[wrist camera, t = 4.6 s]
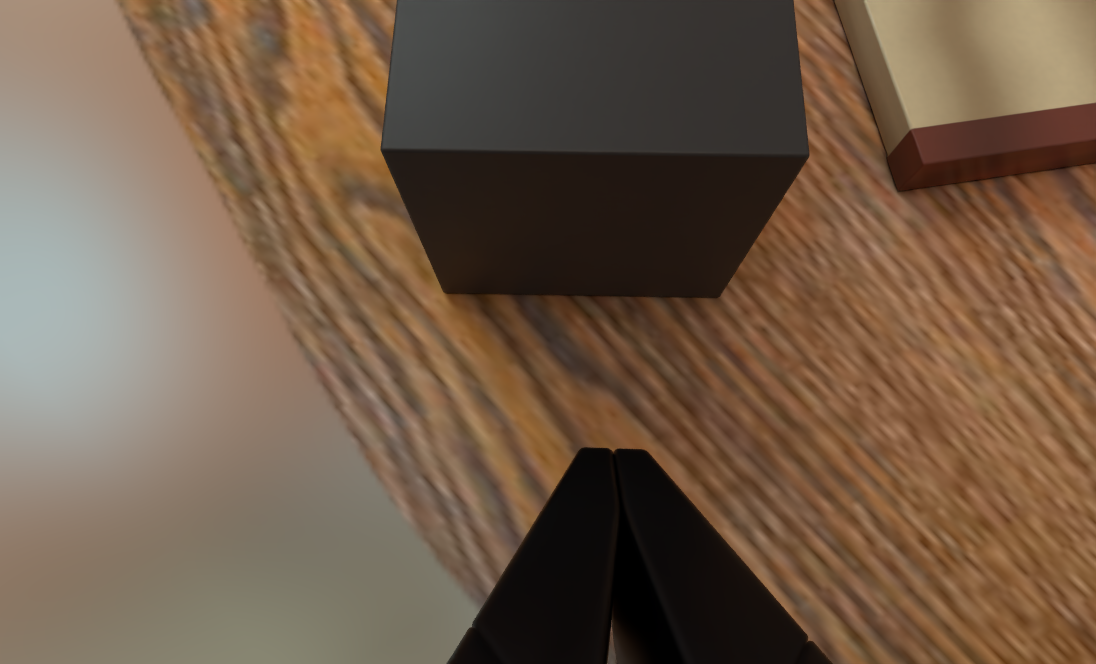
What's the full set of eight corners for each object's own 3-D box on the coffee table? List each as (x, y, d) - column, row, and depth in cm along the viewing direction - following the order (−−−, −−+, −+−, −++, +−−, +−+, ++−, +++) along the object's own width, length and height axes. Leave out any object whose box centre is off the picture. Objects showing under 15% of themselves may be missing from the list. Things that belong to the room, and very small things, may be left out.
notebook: (897, 192, 21) (923, 164, 19) (808, -65, 24) (825, -106, 22) (1341, 127, 21) (1400, 95, 20) (1198, -117, 24) (1240, -161, 23)
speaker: (724, 298, 20) (819, 156, 13) (443, 293, 20) (379, 150, 13) (705, -32, 23) (770, -288, 16) (467, -34, 24) (427, -288, 16)
